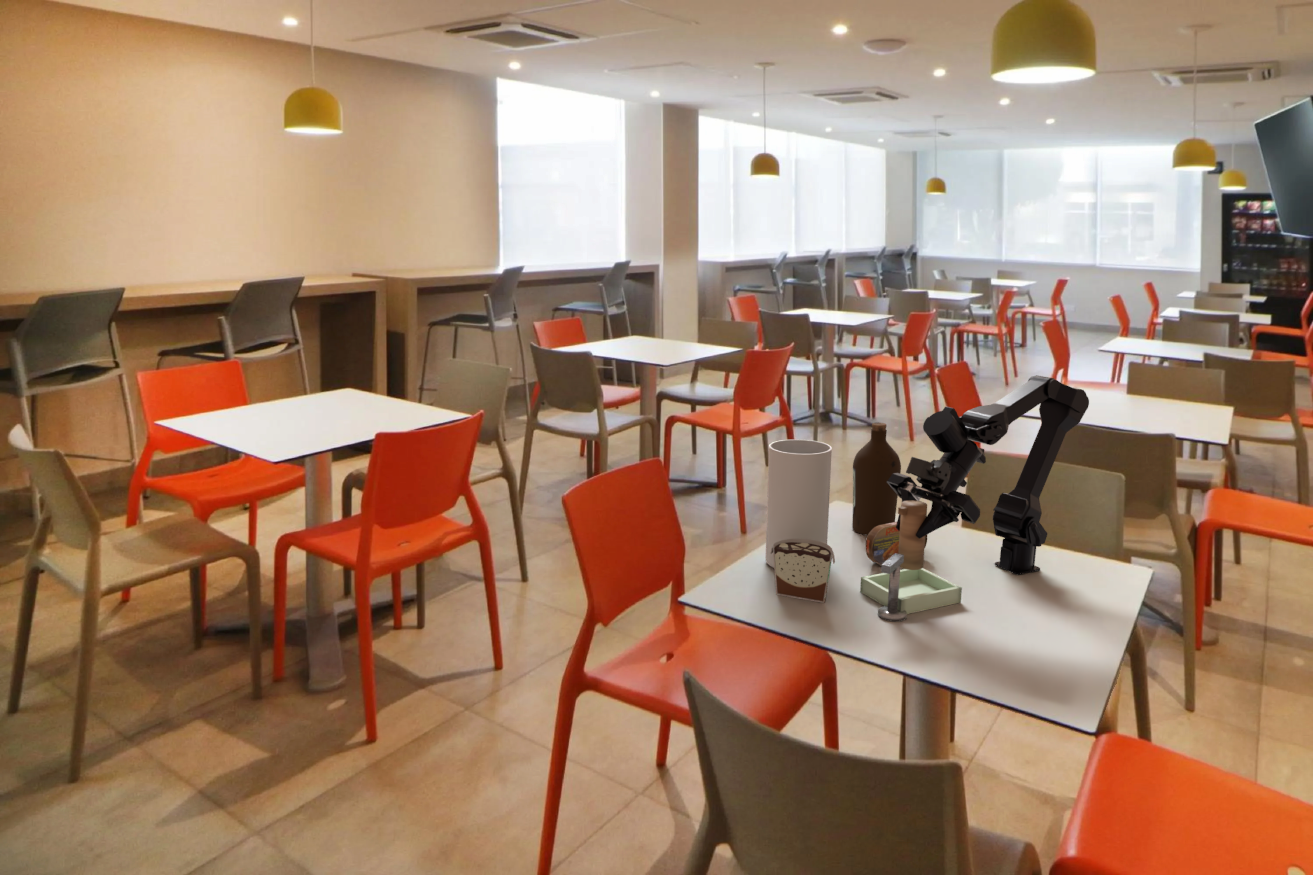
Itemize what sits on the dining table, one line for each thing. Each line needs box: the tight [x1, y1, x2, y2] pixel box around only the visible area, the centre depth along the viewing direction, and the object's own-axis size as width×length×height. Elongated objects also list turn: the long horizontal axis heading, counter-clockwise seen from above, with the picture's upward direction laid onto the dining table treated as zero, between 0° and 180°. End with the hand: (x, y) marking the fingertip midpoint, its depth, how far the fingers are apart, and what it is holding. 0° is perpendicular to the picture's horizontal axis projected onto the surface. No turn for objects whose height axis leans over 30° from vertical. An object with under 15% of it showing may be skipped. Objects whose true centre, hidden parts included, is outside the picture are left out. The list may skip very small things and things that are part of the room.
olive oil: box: [851, 422, 902, 536], centre depth 215 cm, size 11×11×25 cm
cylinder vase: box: [765, 438, 833, 569], centre depth 194 cm, size 12×12×25 cm
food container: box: [770, 539, 836, 604], centre depth 180 cm, size 12×6×10 cm, turn 65°
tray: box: [859, 567, 963, 615], centre depth 179 cm, size 14×12×3 cm
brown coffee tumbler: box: [897, 500, 928, 570], centre depth 175 cm, size 6×5×12 cm
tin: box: [865, 521, 928, 566], centre depth 198 cm, size 15×3×8 cm, turn 117°
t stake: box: [877, 553, 908, 622], centre depth 169 cm, size 8×5×11 cm, turn 146°
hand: (907, 533), depth 175 cm, fingers closed on brown coffee tumbler, 5 cm apart
